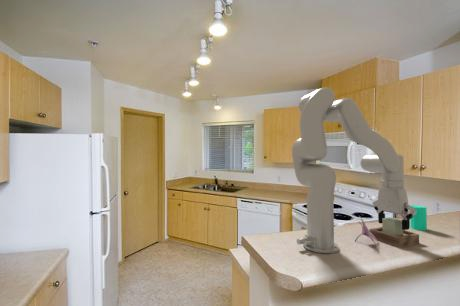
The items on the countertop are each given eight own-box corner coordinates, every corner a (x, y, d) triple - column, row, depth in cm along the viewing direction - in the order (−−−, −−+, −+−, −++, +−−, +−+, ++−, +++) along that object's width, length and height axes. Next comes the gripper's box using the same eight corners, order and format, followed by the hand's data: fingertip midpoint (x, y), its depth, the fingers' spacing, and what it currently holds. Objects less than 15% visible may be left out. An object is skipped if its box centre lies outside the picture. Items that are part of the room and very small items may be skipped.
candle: (429, 230, 108) (429, 204, 108) (415, 230, 109) (415, 204, 109) (421, 226, 114) (421, 202, 114) (407, 226, 115) (407, 201, 115)
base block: (398, 248, 89) (398, 238, 89) (369, 238, 100) (369, 229, 100) (419, 244, 93) (419, 234, 93) (389, 234, 104) (389, 225, 104)
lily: (365, 253, 86) (379, 231, 85) (339, 232, 96) (351, 212, 94) (378, 255, 93) (392, 235, 92) (352, 235, 103) (365, 217, 101)
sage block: (394, 236, 93) (394, 221, 93) (382, 232, 98) (382, 218, 98) (403, 235, 95) (402, 220, 95) (391, 231, 100) (390, 217, 100)
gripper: (367, 182, 103) (367, 221, 103) (408, 187, 87) (409, 233, 87) (379, 181, 106) (379, 219, 106) (421, 186, 90) (422, 231, 90)
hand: (393, 226), depth 96 cm, fingers open, 9 cm apart
